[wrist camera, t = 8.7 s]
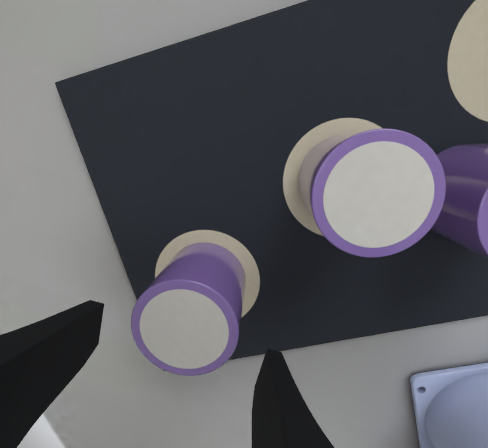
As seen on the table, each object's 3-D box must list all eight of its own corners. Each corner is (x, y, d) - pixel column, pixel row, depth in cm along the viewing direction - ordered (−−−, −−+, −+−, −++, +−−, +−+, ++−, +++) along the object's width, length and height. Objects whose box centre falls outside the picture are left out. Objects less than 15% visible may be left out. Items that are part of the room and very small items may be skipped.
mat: (614, 289, 17) (622, 292, 17) (165, 367, 21) (163, 371, 20) (630, -101, 13) (642, -109, 12) (59, 84, 16) (54, 82, 16)
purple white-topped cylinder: (395, 213, 17) (452, 243, 12) (307, 233, 17) (324, 269, 12) (383, 122, 15) (440, 111, 10) (288, 147, 16) (299, 148, 11)
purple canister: (254, 307, 19) (250, 367, 14) (180, 322, 19) (150, 384, 14) (234, 233, 18) (221, 269, 13) (156, 251, 18) (114, 292, 13)
